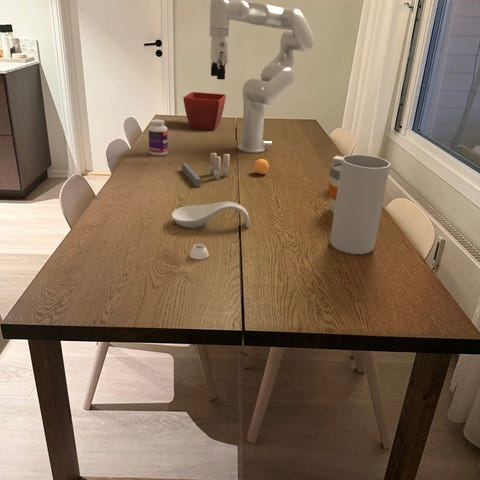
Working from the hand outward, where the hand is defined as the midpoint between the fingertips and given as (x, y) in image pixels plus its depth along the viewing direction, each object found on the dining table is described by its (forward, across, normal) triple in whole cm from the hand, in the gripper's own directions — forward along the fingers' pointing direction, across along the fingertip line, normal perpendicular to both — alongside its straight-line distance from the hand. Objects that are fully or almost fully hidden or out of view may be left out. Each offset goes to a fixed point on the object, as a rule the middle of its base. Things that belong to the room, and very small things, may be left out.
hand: (217, 77), depth 203 cm
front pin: (+33, -29, +4) cm, 44 cm away
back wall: (+33, -30, +18) cm, 48 cm away
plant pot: (+33, +53, -8) cm, 63 cm away
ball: (+30, -28, -11) cm, 43 cm away
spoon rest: (+33, -73, +21) cm, 83 cm away
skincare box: (+33, -50, -34) cm, 69 cm away
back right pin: (+33, -27, +8) cm, 43 cm away
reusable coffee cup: (+33, -71, -26) cm, 82 cm away
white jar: (+33, -93, +29) cm, 103 cm away
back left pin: (+33, -32, +8) cm, 47 cm away
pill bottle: (+33, +5, +24) cm, 41 cm away
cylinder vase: (+33, -95, -15) cm, 102 cm away
